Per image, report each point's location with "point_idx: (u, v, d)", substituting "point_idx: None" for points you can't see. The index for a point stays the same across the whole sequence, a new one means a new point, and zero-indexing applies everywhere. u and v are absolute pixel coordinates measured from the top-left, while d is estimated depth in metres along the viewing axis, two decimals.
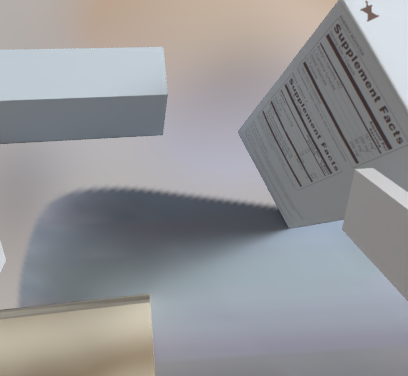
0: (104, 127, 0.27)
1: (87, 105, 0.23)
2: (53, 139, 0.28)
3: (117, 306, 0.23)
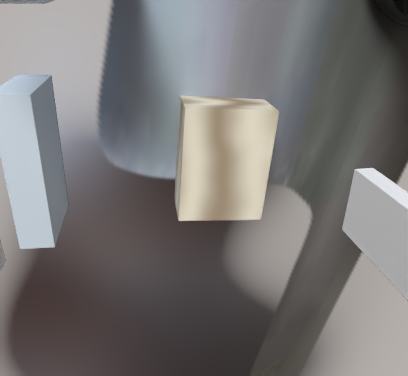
0: (51, 126, 0.35)
1: (42, 148, 0.32)
2: (61, 157, 0.39)
3: (184, 128, 0.35)
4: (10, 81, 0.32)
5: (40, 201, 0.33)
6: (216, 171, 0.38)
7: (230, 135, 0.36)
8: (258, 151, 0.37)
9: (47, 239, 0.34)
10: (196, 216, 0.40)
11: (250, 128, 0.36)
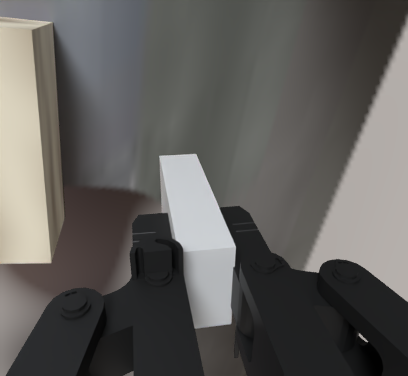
0: None
1: None
2: None
3: None
4: None
5: None
6: None
7: None
8: (4, 123, 0.17)
9: None
10: None
11: None
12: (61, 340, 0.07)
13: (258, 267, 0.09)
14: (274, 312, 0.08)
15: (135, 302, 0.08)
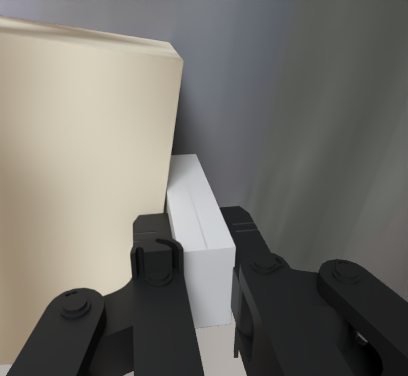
0: None
1: None
2: None
3: None
4: None
5: None
6: None
7: (13, 130, 0.11)
8: (119, 188, 0.12)
9: None
10: None
11: (85, 110, 0.11)
12: (61, 340, 0.07)
13: (258, 267, 0.09)
14: (274, 312, 0.08)
15: (135, 302, 0.08)
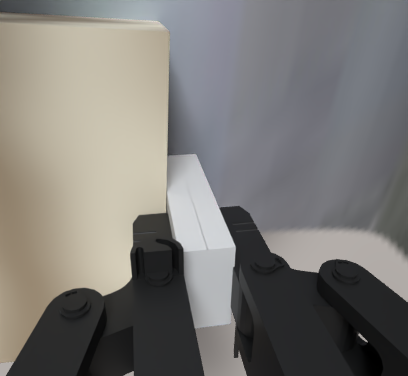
0: None
1: None
2: None
3: None
4: None
5: None
6: None
7: (4, 120, 0.10)
8: (118, 172, 0.12)
9: None
10: None
11: (75, 94, 0.10)
12: (61, 340, 0.07)
13: (258, 267, 0.09)
14: (274, 312, 0.08)
15: (135, 302, 0.08)
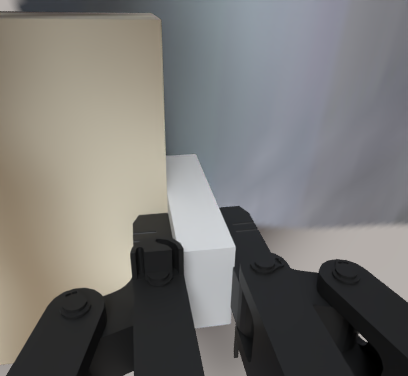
0: None
1: None
2: None
3: None
4: None
5: None
6: None
7: None
8: (117, 165, 0.12)
9: None
10: None
11: (69, 88, 0.10)
12: (61, 340, 0.07)
13: (258, 267, 0.09)
14: (274, 312, 0.08)
15: (135, 302, 0.08)
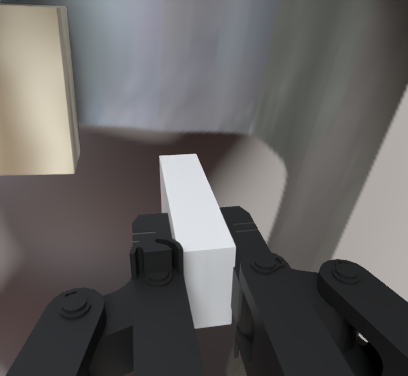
0: None
1: None
2: None
3: None
4: None
5: None
6: None
7: None
8: (41, 71, 0.26)
9: None
10: None
11: (18, 34, 0.25)
12: (61, 340, 0.07)
13: (258, 267, 0.09)
14: (274, 312, 0.08)
15: (135, 302, 0.08)
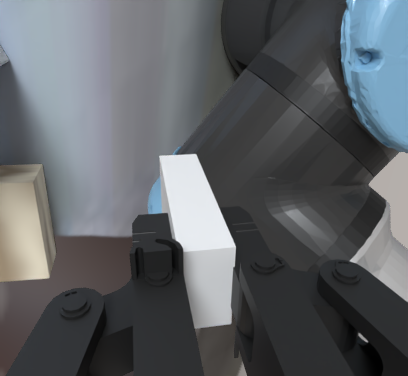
0: None
1: None
2: None
3: None
4: None
5: None
6: None
7: None
8: (23, 218, 0.39)
9: None
10: None
11: (8, 199, 0.38)
12: (61, 340, 0.07)
13: (258, 267, 0.09)
14: (274, 312, 0.08)
15: (135, 302, 0.08)
